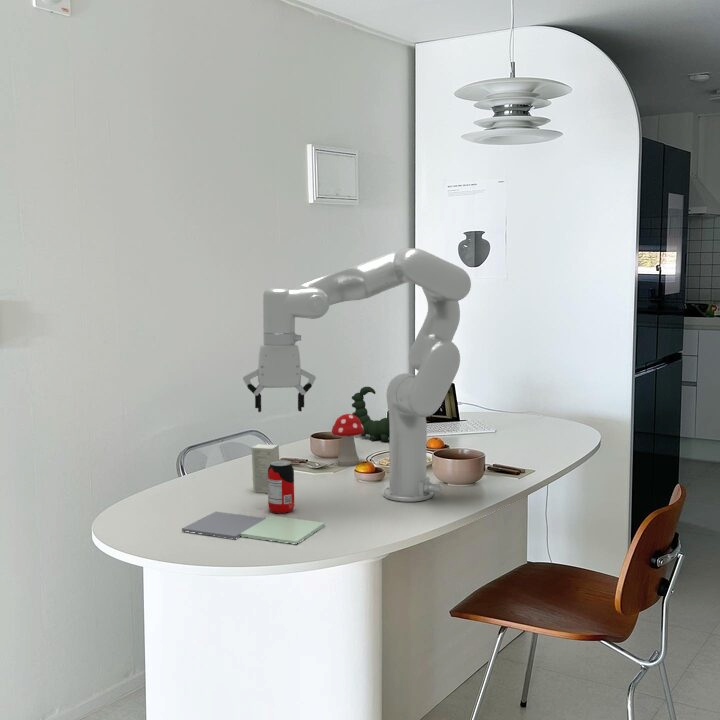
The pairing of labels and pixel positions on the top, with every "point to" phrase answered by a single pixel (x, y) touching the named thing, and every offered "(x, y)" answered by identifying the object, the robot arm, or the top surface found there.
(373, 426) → the toy figurine
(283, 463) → the beverage can
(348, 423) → the decorative mushroom
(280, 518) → the green pad
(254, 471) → the skincare box
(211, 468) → the top surface
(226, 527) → the grey pad
